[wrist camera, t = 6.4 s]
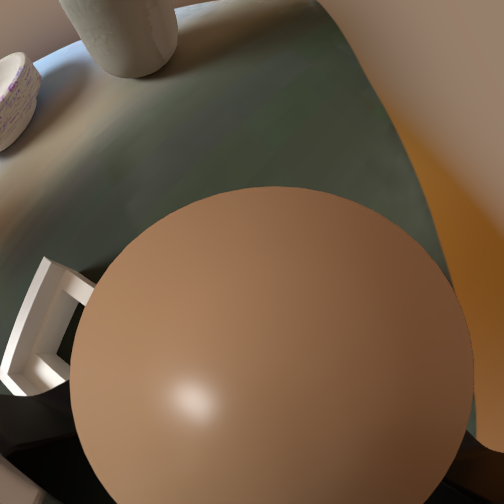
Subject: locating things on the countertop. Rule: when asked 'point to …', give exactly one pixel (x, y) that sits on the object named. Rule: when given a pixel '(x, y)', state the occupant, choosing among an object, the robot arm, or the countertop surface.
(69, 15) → the light grey bottle
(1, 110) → the paper bowls
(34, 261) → the countertop surface
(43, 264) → the housing
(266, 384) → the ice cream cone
